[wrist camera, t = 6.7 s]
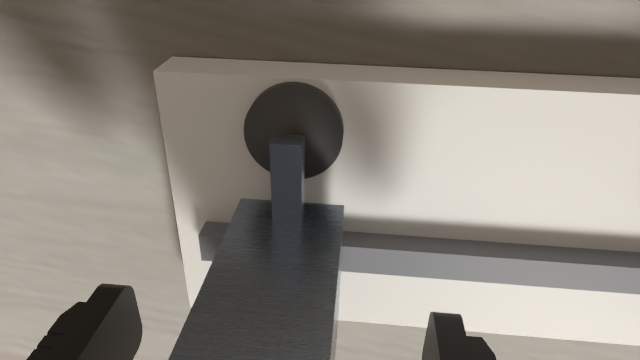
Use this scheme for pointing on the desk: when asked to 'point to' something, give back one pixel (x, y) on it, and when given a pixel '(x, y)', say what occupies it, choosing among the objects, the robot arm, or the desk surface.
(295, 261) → the sliding leg
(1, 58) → the desk surface
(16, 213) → the desk surface
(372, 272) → the sliding block fixture
